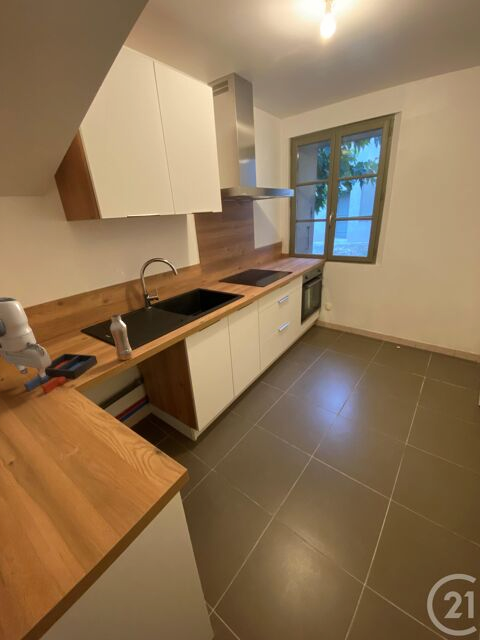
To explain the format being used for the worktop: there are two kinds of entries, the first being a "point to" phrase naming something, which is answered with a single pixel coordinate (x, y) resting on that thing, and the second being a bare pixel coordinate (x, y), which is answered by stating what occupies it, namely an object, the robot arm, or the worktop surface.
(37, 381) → the blue block
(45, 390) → the red block
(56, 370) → the organiser
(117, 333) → the plastic bottle
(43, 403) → the worktop surface
